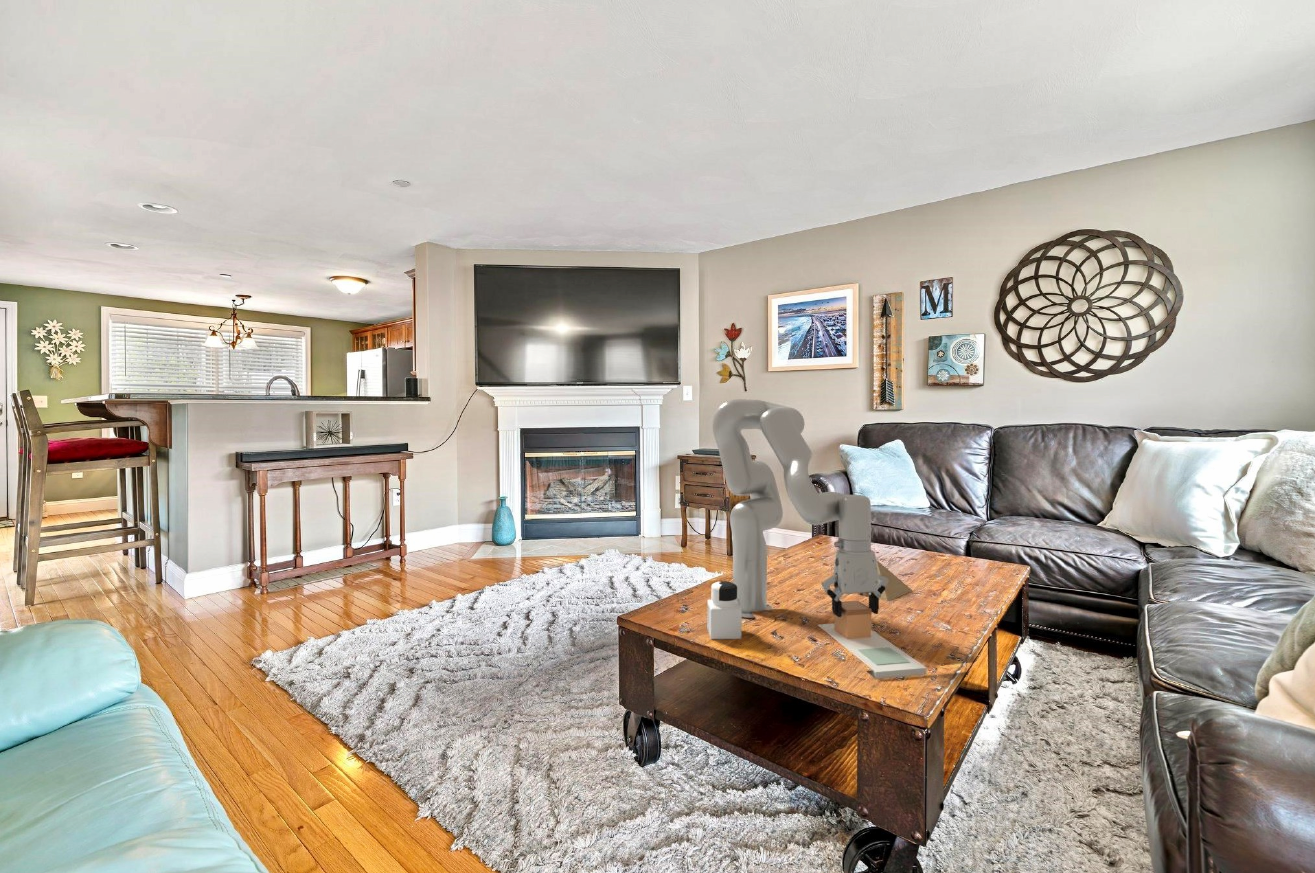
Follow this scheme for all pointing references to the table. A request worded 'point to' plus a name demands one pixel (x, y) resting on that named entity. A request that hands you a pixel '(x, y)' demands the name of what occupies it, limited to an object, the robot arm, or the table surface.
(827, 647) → the table surface
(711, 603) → the container
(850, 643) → the post board
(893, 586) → the model pyramid
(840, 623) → the brown block
